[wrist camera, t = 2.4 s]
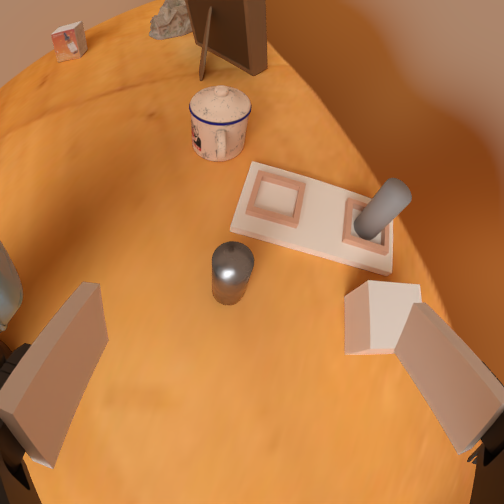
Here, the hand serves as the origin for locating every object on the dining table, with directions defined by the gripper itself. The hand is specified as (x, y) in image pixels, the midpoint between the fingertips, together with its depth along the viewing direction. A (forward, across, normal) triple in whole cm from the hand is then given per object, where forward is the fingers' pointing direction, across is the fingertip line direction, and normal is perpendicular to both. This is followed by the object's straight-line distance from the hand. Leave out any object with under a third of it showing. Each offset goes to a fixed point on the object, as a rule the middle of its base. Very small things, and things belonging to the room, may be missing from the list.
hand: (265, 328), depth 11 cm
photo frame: (+61, -8, +26) cm, 67 cm away
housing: (+21, +19, -14) cm, 31 cm away
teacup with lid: (+40, -4, +5) cm, 41 cm away
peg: (+24, 0, -11) cm, 26 cm away
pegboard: (+32, +12, -3) cm, 34 cm away
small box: (+68, -51, +32) cm, 91 cm away
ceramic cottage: (+77, -24, +42) cm, 91 cm away
